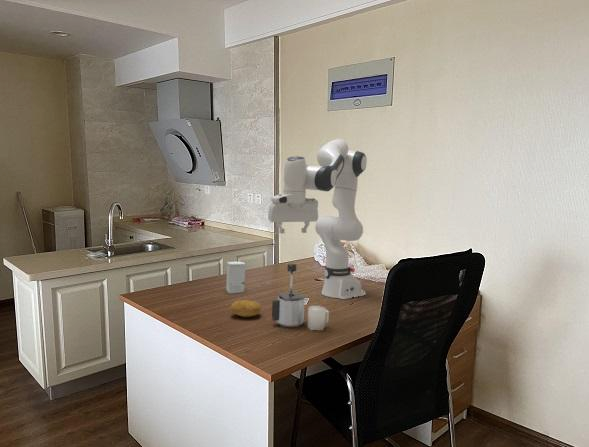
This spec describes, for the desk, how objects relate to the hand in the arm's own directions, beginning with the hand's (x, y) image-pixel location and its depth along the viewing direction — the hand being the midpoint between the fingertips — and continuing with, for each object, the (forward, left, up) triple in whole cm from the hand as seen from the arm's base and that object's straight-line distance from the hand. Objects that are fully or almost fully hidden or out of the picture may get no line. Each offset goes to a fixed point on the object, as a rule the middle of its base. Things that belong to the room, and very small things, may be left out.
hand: (293, 233), depth 174 cm
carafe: (+1, 0, -37) cm, 37 cm away
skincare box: (+10, -49, -37) cm, 62 cm away
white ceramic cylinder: (-8, +8, -37) cm, 39 cm away
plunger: (0, 0, -28) cm, 28 cm away
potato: (+15, -13, -38) cm, 42 cm away
